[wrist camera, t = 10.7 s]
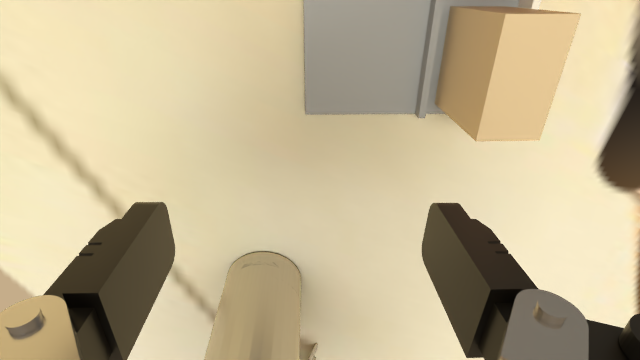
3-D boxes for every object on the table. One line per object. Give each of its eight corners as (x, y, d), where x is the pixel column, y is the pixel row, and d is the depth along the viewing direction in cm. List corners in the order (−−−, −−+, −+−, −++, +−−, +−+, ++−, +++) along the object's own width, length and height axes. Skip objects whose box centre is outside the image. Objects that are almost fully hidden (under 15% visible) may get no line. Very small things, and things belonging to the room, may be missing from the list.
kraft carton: (506, 6, 28) (583, 13, 20) (484, 102, 32) (541, 140, 24) (450, 6, 28) (505, 13, 20) (434, 103, 32) (475, 141, 24)
